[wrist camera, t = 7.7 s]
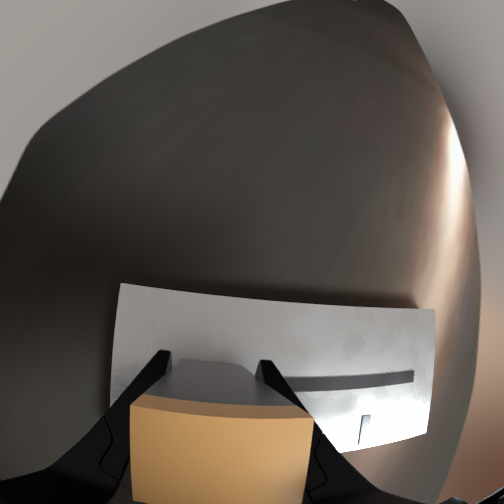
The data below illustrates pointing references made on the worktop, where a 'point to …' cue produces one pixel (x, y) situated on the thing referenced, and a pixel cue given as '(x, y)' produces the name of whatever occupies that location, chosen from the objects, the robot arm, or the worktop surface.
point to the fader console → (294, 354)
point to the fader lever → (217, 439)
